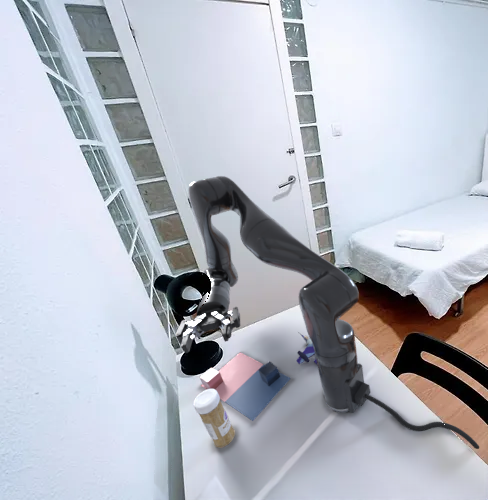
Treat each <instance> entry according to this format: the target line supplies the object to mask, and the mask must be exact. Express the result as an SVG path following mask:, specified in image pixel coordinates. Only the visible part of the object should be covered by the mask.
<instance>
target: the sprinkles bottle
mask: <svg viewBox="0 0 488 500" xmlns="http://www.w3.org/2000/svg"><path fill="white" fill-rule="evenodd" d="M221 401H222V400H221V399H220V397H219V394H218V392H217V391H216V390H215V389H207V390H206V389H204V390H203V391H201V392H200V393H198V395H196V397H195V398H194V400H193V408H194V410H195V412H196V413H197V414H198V415H199V417H200V419H201V422H202V424H203V425H204V427H205V429H206V431H207V433H208V435H209V437H210V438H211V440H212V441H213V445H214V447H216V448H219V449H222V448H225V447H226V446H228V445H229V444H230V443H231V442H232V441H233V440H234V438H235V435H236V430H235V428H234V427H233V425H232V423H231V419H230V417H229V416H228V413H227V411H226V410H225V407H224V406H223V403H222V402H221Z"/></svg>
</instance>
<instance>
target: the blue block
mask: <svg viewBox="0 0 488 500" xmlns="http://www.w3.org/2000/svg"><path fill="white" fill-rule="evenodd" d="M258 371H259V373H260V376H261V379H262V380H263V381H264V382H265V383H266V384H267V385H268V386H270V385H271V384H272V383H273V382H275V381H276V380H277V379H278V378H279V377H280V375H279V372H280V371H279V368H278V366H277V365H275V364H274V363H273V362H272V361H270V360H269V361H267V363H266V364H264V366H263V367H261V368H260V369H259V370H258Z"/></svg>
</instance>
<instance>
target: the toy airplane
mask: <svg viewBox="0 0 488 500" xmlns="http://www.w3.org/2000/svg"><path fill="white" fill-rule="evenodd" d="M297 332H298V331H297ZM298 334H300V336H301V337H302V338H303V340H304V341H305V346H306V347H305V348H304V349H303V351H301V350H297V352H296V353H297V355H298V357H297V359H296V360H295V361H296V362H297V364H298V365H301V364H303V363H304V362H305V363H310V362H311V361H310V359H309V358H311V357H312V356H315V352H314V347H313V344H312V341H311V339H310V337H309V336H308V335H303V334H301V333H300V332H298ZM313 363H314V364H315V365H317V361H316V358H315V359H314V360H313Z"/></svg>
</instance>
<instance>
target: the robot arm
mask: <svg viewBox="0 0 488 500" xmlns="http://www.w3.org/2000/svg"><path fill="white" fill-rule="evenodd" d="M188 198H189V202H190V205H191V210H192V212H193V215H194V218H195V221H196V224H197V228H198V230H199V233H200V235H201V238H202V242H203V246H204V253H205V259H206V265H207V266H208V267H206V269H204V271H203V273H205V274H206V275H207V276H208V277H209V279H210V281H211V291H210V294H209V293H208V292H207V293H206V294H205V295H204V296H203V298H202V300H201V299H200V300H201V302H200V301H199V304H198V307H197V310H196V316H195V318H194V319H193V320H191V321H187V319H183V320H181V322H180V323H179V326H178V328H177V331H176V333H175V338H176V340H177V342H178V344H180V347H181V350H182V351H183V352H184V353H185V354H187V353H189V352H190V350H191V347H192V345H193V344H192V343H193V341H194V340H195V339H196V338H199V337H201V336H202V335H203V334H204V333H207V332H209V331H213V330H217V329H221V330H222V335H221V336H222V338H223V341H224V343H225V342H228V341H229V339H231V337H232V332H233V330H234V328H236V329H239V328H240V327H241V313H240V311H239V307H238V306H234V307H233V308H232V310H230V311H229V308H230V303H231V302H230V294H231V288H233V287H235V286H236V285H237V284H238V281H239V274H238V271H237V268H236V267H235V264H234V262H233V260H232V249H231V244H230V243H231V242H230V241H229V239H228V238H227V236H226V235H225V234H224V233H223V232H221V231H220V230H219V229H218V228H217V227H216V226H215V225H214V223H213V222H212V217H213V216H217V215H219V214H224V213H226V212H230V211H231V212H234V213H235V214H237V215H238V216H239V236H240V240H241V242H242V244H243V245H244V247H245V248H246V249H247V250H248V251H249V252H250V253H251V254H252V255H254V256H255V258H256V259H258V260H259V261H260V262H262V263H264V264H265V265H268V266H271V267H274V268H277V269H282V270H287V271H291V272H295V273H297V274H300V275H302V276H304V277H306V278H307V279H309V280H310V282H308V283H307V284H305V285H303V286H302V287H301V288H300V290H299V291H298V305H299V309H300V312H301V315H302V319H303V322H304V326H305V329H306V333H307V336H308V338H310V339H311V341H312V344H313V347H314V352H315V354H314V356H315V359H316V361H317V364H316V365H317V370H318V374H319V379H320V383H321V389H322V392H323V399H324V403H325V404H326V406H327V407H328V408H329V409H330V410H332V411H333V412H335V413H337V414H341V413H342V414H344V413H348V412H349V413H351V414H354V413H355V411H356V409H357V408H358V407H361V408H362V407H363V406H364V404H365V403H366V401H369V402H371V403H373V404H374V405H377V406H379V407H380V408H382V409H383V410H385V411H386V412H387V413H388V414H390V415H392V416H393V417H394V418H395V419H396V420H397V421H398V422H399V423H400V424H401V425H402V426H403V427H405V428H407V429H408V430H410V431H414V432H424V431H429V430H432V429H434V428H442V429H447V430H449V431H452V432H454V433H456V434H457V435H459V436H461V437H462V438H463V439H464V440H466V441H467V442H468V443H469V444H470V445H471V446H472V447H473V448H474V449H476V450H479V449H480V446H479V444H478V443H477V442H476V440H474V439H473V438H472V437H471V436H470V435H469V434H468V433H467V432H465V431H464V430H462V429H461V428H460V427H457V426H455V425H453V424H450V423H447V422H443V421H433V422H428V423H427V424H423V425H416V424H415V425H414V424H412V423H409V422H407V421H406V420H405V419H404V418H403V417H402V416H401V415H400V414H398V412H397V411H395V410H394V409H393V408H392V407H390V406H388V405H387V404H385V403H384V402H383V401H381V400H379V399H378V398H376V397H374V396H372V395H370V394H371V387H370V384H367V383H366V382H365V377H364V369H363V368H364V367H363V364H361V363H360V362H359V360H358V352H357V343H356V335H355V330H354V328H353V326H352V325H351V323H349V322H348V321H346V320H344V319H340V318H342V317H343V316H344V315H345V314H346V313H348V312H349V311H350V310H351V309H352V308H354V307H355V306H356V305H357V304H358V301H359V299H360V293H359V290H358V287H357V285H356V284H355V282H354V281H353V279H352V278H351V277H350V276H349V275H348V274H347V273H345V272H344V271H343V270H342V269H340V268H339V267H338V266H336V265H334V264H333V263H331V262H330V261H328V260H327V259H325V258H324V257H322V256H321V255H319V254H318V253H316V252H315V251H313V250H312V249H311V248H309V247H308V246H307V245H305V244H304V243H303V242H302V241H300V240H299V239H298V238H296V237H295V236H294V235H293V234H292V233H291V232H290V231H289V230H287V229H286V228H285V227H284V226H283V225H282V224H280V223H279V222H278V221H277V220H275V218H273V217H272V216H270V215H269V214H267V212H266V211H264V210H263V209H262V208H261V207H259V205H257V204H256V203H255V201H253V200H252V199H251V198H250V197H249V195H247V193H245V192H244V190H243V189H241V187H240V186H239V185H238V184H237V183H236V182H235V181H234V180H232V179H231V178H230V177H228V176H225V175H218V176H213V177H212V176H211V177H208V178H203V179H198V180H195V181H192V182H191V183H190V184H189V185H188ZM208 295H209V297H208ZM207 298H208V299H207ZM205 301H206V302H205ZM203 304H204V305H203ZM202 305H203V306H202ZM200 308H201V309H200ZM230 317H231V318H232V320H230V319H229V318H230ZM442 422H443V423H442ZM444 424H445V425H444Z"/></svg>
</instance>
